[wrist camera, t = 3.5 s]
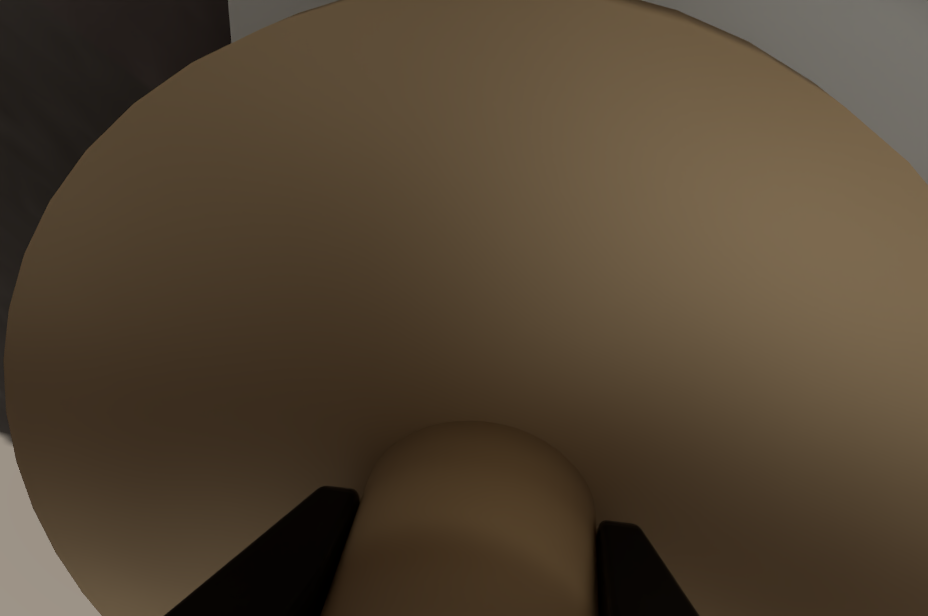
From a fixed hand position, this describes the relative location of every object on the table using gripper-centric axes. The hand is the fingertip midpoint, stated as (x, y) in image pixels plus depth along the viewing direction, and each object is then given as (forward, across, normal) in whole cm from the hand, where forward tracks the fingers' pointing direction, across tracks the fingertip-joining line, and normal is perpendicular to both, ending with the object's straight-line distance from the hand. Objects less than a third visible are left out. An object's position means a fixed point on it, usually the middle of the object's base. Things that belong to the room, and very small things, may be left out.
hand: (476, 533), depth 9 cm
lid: (+1, 0, 0) cm, 1 cm away
